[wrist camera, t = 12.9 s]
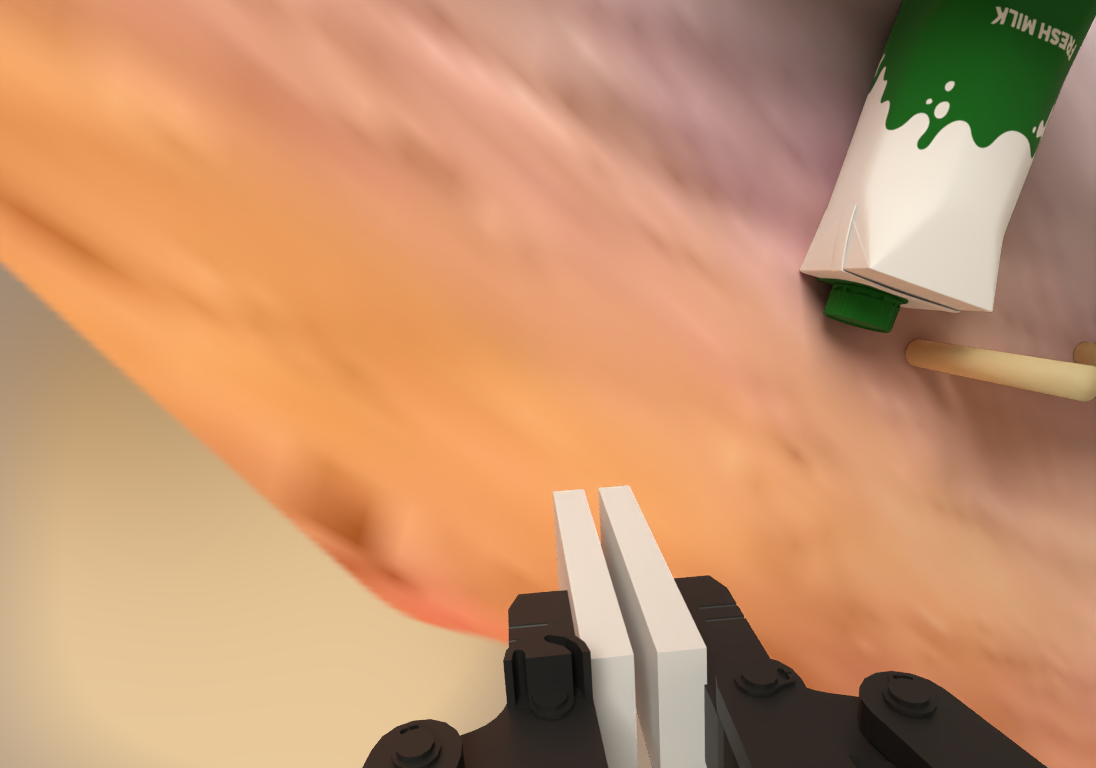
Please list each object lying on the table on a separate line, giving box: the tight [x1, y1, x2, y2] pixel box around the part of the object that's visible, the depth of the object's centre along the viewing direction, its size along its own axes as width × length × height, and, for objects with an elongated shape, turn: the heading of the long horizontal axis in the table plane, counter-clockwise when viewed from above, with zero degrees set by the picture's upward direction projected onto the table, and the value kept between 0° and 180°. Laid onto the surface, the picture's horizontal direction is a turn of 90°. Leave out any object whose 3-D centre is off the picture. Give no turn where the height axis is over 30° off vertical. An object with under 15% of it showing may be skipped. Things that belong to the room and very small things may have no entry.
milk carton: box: [800, 0, 1096, 333], centre depth 39 cm, size 9×9×20 cm
